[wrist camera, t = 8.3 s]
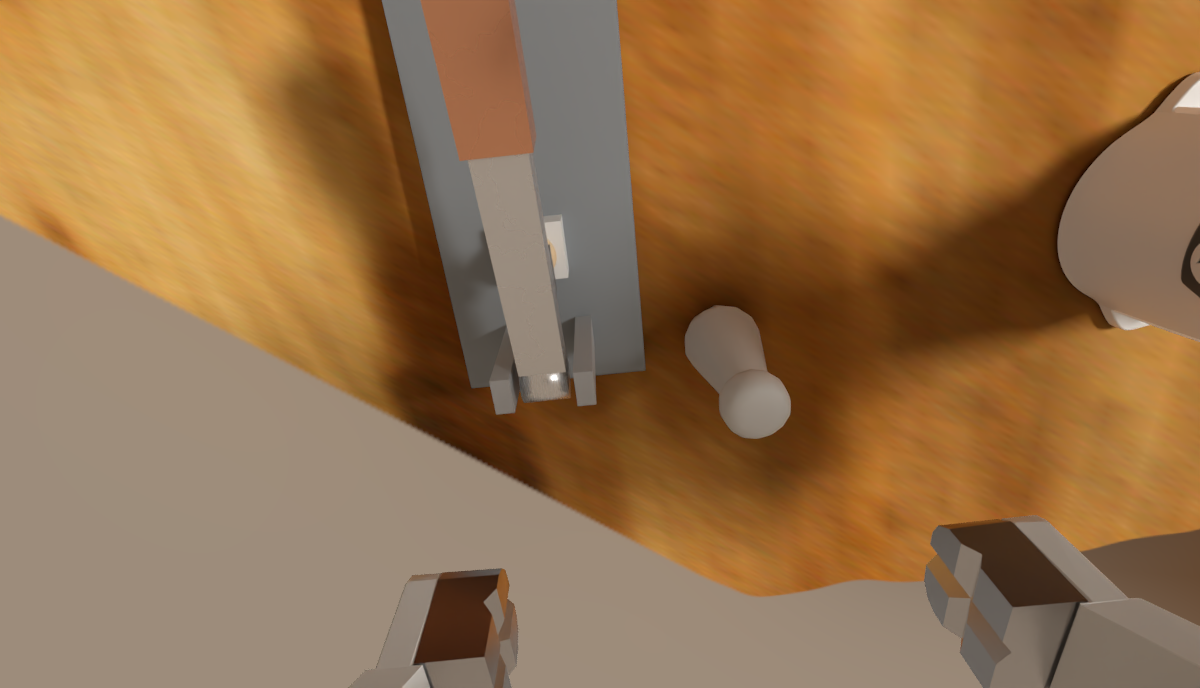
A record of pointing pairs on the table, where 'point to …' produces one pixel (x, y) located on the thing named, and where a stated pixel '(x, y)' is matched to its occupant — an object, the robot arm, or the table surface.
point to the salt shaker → (737, 371)
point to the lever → (503, 176)
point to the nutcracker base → (566, 186)
